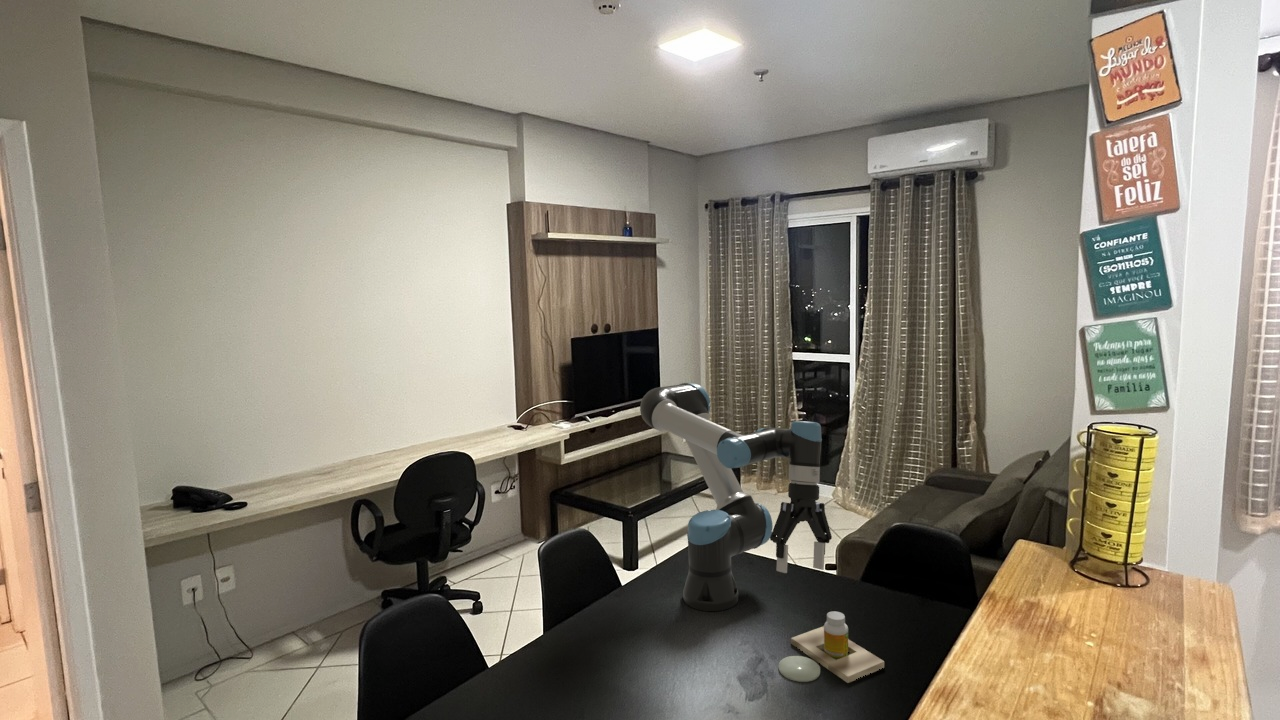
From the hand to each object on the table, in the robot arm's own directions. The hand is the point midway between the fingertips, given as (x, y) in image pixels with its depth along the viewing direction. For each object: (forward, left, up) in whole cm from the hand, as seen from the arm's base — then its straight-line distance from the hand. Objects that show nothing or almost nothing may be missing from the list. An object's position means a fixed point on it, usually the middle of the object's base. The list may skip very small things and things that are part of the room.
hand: (800, 570), depth 158 cm
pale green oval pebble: (+13, -12, -15) cm, 23 cm away
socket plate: (+13, -1, -15) cm, 20 cm away
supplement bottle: (+13, -1, -15) cm, 20 cm away
